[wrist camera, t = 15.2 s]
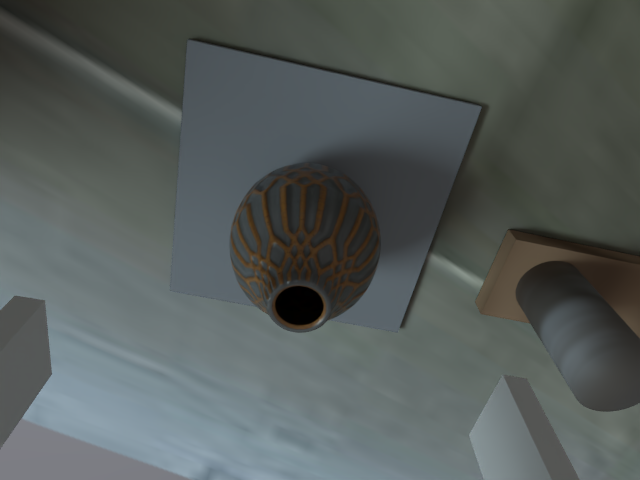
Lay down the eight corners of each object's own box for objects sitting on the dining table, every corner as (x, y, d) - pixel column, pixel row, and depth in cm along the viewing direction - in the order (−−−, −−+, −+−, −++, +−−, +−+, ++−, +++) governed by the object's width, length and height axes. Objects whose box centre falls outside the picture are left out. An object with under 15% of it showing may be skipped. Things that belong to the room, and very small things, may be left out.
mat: (171, 287, 28) (169, 290, 27) (189, 38, 21) (187, 39, 21) (396, 328, 29) (397, 332, 28) (479, 104, 22) (481, 106, 22)
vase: (331, 120, 22) (332, 187, 15) (396, 229, 25) (425, 334, 17) (218, 188, 24) (165, 279, 16) (289, 283, 27) (273, 400, 19)
